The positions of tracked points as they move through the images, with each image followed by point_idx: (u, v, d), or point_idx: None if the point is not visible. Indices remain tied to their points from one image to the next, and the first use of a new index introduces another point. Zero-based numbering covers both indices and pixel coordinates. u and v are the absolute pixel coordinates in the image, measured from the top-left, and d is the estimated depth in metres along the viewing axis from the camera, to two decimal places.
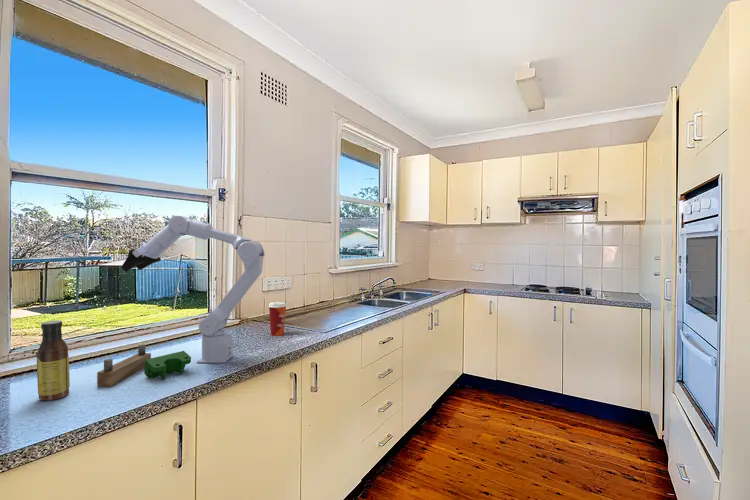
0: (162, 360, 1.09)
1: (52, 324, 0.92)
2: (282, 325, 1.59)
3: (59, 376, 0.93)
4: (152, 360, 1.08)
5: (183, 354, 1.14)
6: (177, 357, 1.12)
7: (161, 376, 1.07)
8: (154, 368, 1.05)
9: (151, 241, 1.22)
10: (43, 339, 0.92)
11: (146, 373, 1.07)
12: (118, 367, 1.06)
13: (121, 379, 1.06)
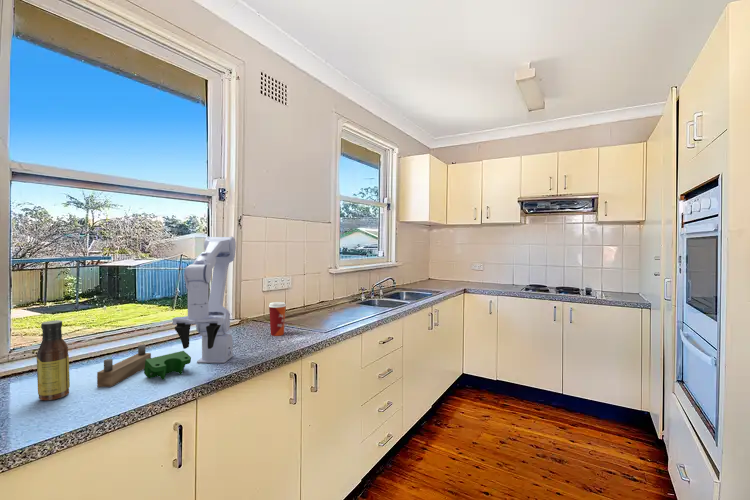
0: (162, 360, 1.09)
1: (52, 324, 0.92)
2: (282, 325, 1.59)
3: (59, 376, 0.93)
4: (152, 360, 1.08)
5: (183, 354, 1.14)
6: (177, 357, 1.12)
7: (161, 376, 1.07)
8: (154, 368, 1.05)
9: (204, 308, 1.09)
10: (43, 339, 0.92)
11: (146, 373, 1.07)
12: (118, 367, 1.06)
13: (121, 379, 1.06)
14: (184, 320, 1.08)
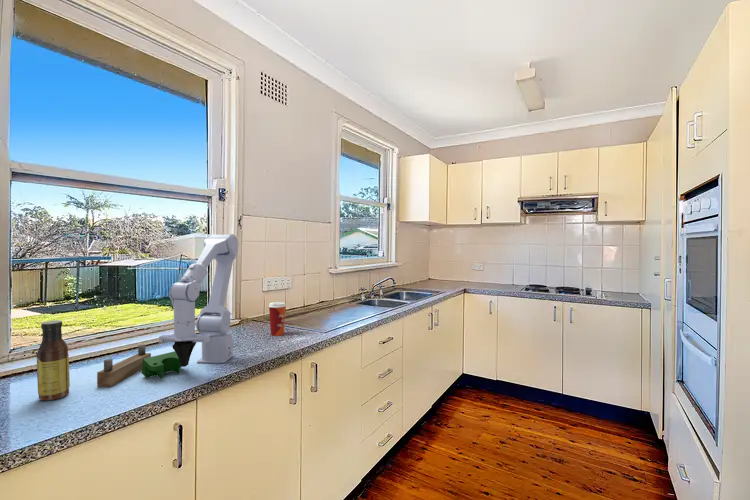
0: (160, 359, 1.09)
1: (52, 324, 0.92)
2: (282, 325, 1.59)
3: (59, 376, 0.93)
4: (149, 359, 1.08)
5: None
6: (175, 356, 1.13)
7: (159, 375, 1.08)
8: (152, 367, 1.05)
9: (190, 326, 1.09)
10: (43, 339, 0.92)
11: (143, 372, 1.08)
12: (118, 367, 1.06)
13: (121, 379, 1.06)
14: (170, 338, 1.08)
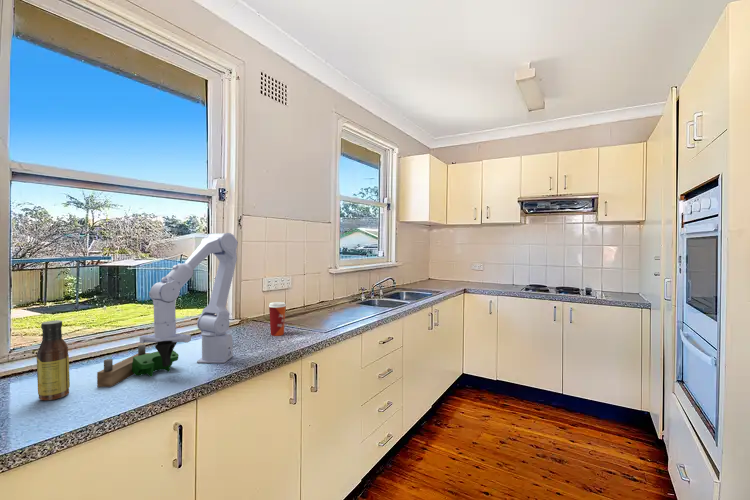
0: (150, 357, 1.11)
1: (52, 324, 0.92)
2: (282, 325, 1.59)
3: (59, 376, 0.93)
4: (140, 357, 1.10)
5: None
6: None
7: (149, 373, 1.09)
8: (142, 365, 1.07)
9: (170, 326, 1.09)
10: (43, 339, 0.92)
11: (133, 370, 1.09)
12: (118, 367, 1.06)
13: (121, 379, 1.06)
14: (151, 339, 1.08)
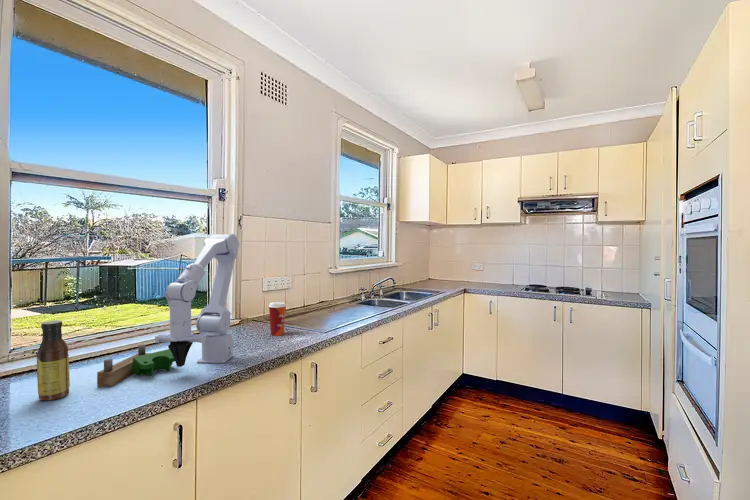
0: (150, 357, 1.11)
1: (52, 324, 0.92)
2: (282, 325, 1.59)
3: (59, 376, 0.93)
4: (140, 358, 1.10)
5: (170, 352, 1.17)
6: (165, 354, 1.14)
7: (149, 373, 1.10)
8: (142, 365, 1.07)
9: (186, 326, 1.09)
10: (43, 339, 0.92)
11: (133, 370, 1.09)
12: (118, 367, 1.06)
13: (121, 379, 1.06)
14: (166, 338, 1.08)
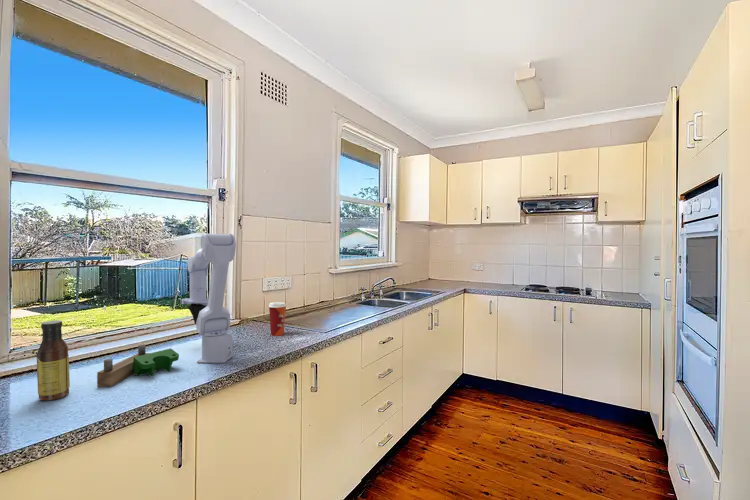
0: (151, 357, 1.11)
1: (52, 324, 0.92)
2: (282, 325, 1.59)
3: (59, 376, 0.93)
4: (140, 357, 1.10)
5: (170, 351, 1.17)
6: (165, 354, 1.15)
7: (150, 373, 1.10)
8: (143, 365, 1.07)
9: (200, 292, 1.37)
10: (43, 339, 0.92)
11: (134, 370, 1.09)
12: (118, 367, 1.06)
13: (121, 379, 1.06)
14: (187, 301, 1.38)
